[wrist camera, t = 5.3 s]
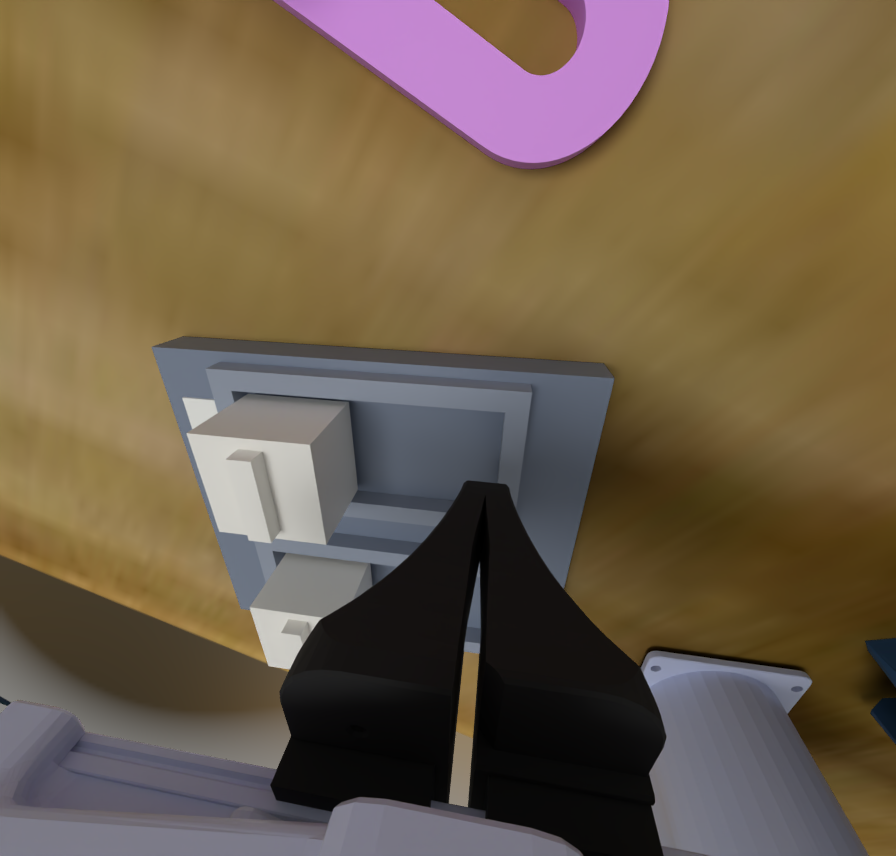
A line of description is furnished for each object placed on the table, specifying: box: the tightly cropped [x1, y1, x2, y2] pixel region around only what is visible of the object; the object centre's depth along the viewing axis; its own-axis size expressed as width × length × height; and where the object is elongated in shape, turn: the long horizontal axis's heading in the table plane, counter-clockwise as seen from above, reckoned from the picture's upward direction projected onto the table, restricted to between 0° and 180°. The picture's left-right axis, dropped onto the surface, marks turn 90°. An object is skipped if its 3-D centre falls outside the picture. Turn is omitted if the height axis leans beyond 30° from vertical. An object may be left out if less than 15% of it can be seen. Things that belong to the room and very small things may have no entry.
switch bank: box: [152, 336, 614, 653], centre depth 18 cm, size 15×17×2 cm
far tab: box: [250, 553, 372, 669], centre depth 17 cm, size 4×4×4 cm
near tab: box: [186, 394, 358, 545], centre depth 14 cm, size 4×4×4 cm
